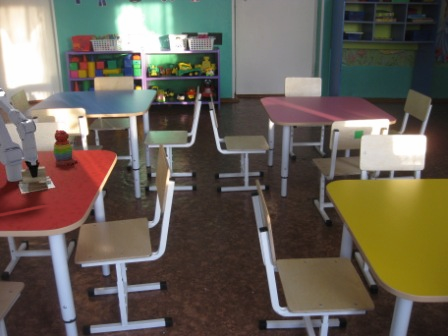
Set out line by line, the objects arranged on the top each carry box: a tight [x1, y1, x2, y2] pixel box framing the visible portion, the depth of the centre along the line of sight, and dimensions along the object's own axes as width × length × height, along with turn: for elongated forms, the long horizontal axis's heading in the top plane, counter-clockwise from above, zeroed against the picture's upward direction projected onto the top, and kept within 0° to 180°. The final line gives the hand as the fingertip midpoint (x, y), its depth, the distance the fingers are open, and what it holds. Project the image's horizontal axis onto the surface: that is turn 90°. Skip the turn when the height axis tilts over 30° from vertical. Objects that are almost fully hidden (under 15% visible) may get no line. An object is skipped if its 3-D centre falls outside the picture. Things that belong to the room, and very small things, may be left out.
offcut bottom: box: [28, 183, 48, 193], centre depth 205 cm, size 3×8×2 cm, turn 119°
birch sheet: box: [21, 166, 48, 184], centre depth 211 cm, size 3×10×7 cm, turn 119°
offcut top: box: [28, 180, 46, 188], centre depth 204 cm, size 3×7×2 cm, turn 119°
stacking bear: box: [53, 129, 78, 166], centre depth 244 cm, size 11×10×18 cm
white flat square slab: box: [18, 176, 56, 195], centre depth 209 cm, size 14×14×3 cm
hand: (34, 176), depth 211 cm, fingers closed on birch sheet, 3 cm apart
